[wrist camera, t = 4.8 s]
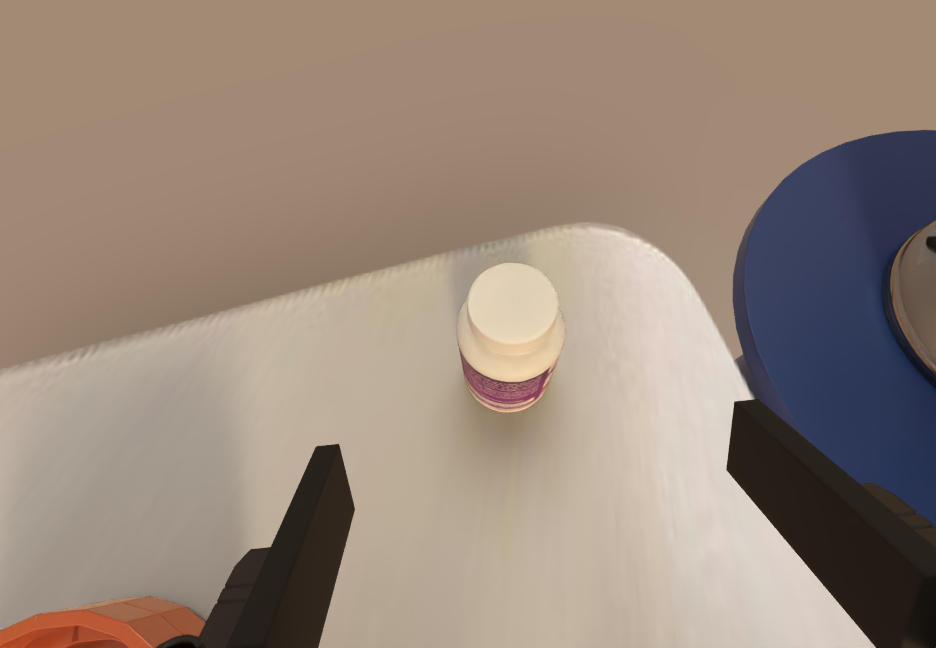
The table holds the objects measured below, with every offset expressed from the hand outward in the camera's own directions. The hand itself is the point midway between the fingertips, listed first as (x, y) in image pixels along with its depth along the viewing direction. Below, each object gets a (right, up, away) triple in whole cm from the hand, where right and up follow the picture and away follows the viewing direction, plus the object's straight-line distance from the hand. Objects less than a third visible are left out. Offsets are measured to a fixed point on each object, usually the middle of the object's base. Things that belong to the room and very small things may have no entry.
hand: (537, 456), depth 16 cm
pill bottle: (0, +1, +13) cm, 13 cm away
